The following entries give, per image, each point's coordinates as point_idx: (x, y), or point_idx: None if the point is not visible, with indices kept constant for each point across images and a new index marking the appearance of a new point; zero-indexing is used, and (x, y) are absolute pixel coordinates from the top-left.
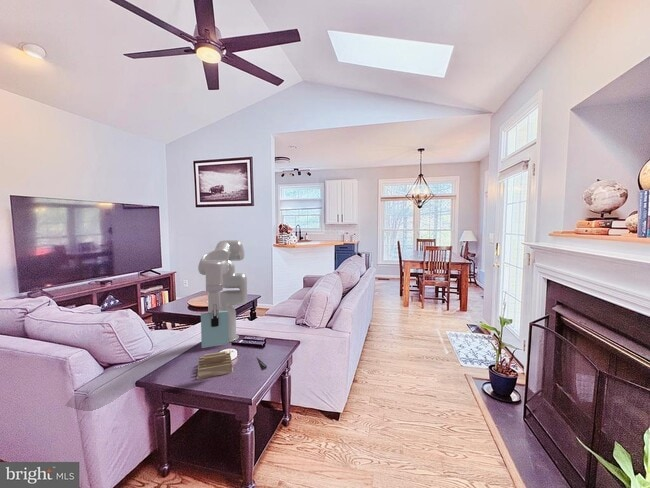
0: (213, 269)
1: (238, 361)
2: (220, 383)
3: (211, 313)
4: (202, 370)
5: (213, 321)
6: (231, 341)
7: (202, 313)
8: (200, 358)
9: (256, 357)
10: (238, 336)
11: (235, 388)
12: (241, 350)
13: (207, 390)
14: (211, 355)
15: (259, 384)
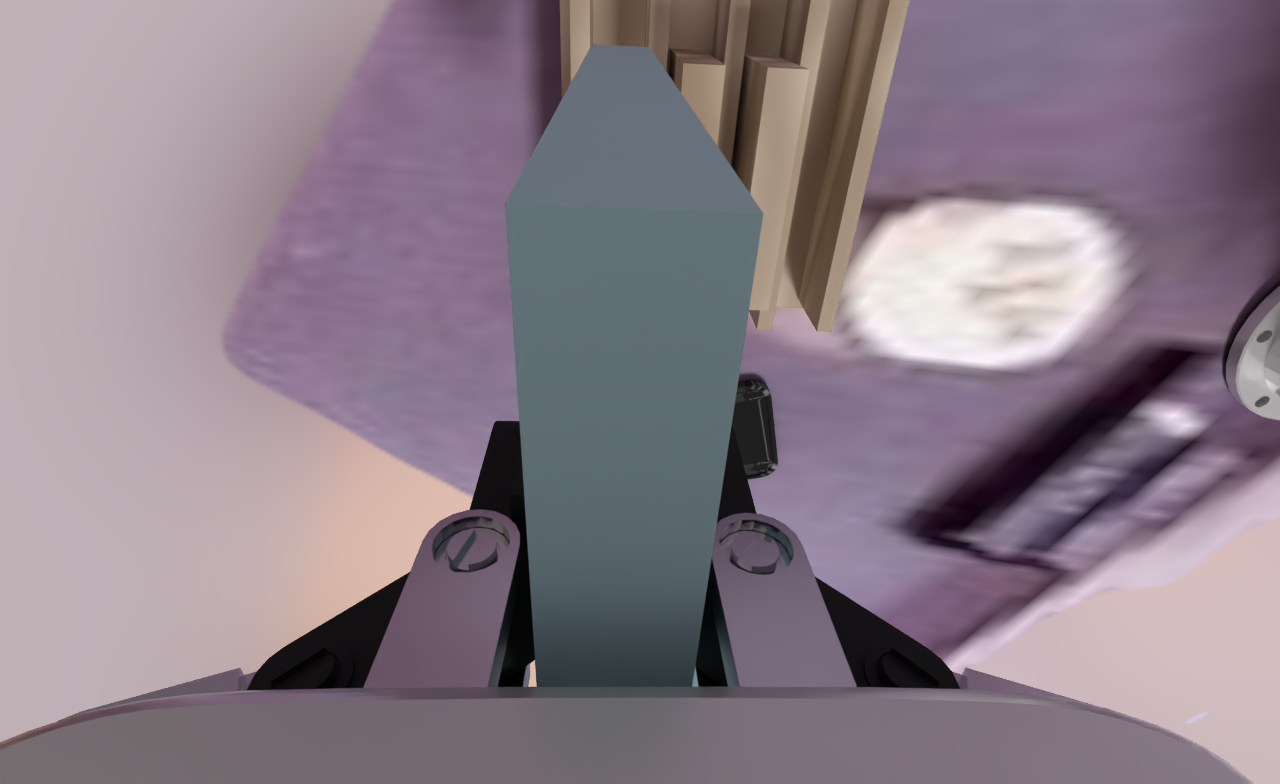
0: None
1: (782, 353)
2: (458, 182)
3: (540, 663)
4: (570, 30)
5: (475, 489)
6: (1231, 349)
7: (732, 318)
8: (883, 16)
9: (757, 474)
10: (1272, 418)
11: (348, 282)
12: (976, 398)
13: (366, 63)
14: (754, 157)
15: (367, 427)
